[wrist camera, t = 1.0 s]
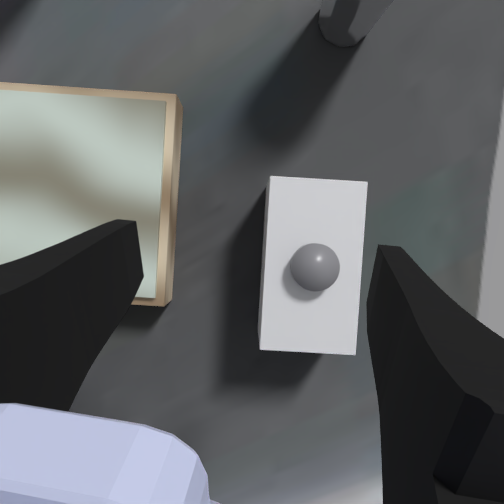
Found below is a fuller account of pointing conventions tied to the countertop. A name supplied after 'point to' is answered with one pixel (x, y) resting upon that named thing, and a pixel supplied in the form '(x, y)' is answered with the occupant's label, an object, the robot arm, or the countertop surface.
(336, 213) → the block
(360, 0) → the milkshake
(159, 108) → the stand
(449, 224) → the countertop surface
